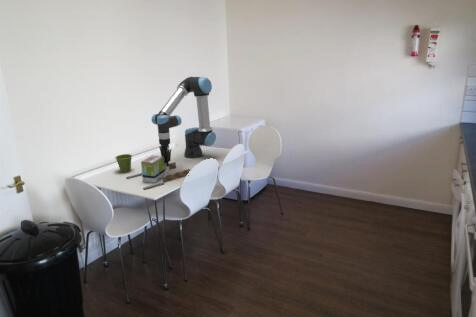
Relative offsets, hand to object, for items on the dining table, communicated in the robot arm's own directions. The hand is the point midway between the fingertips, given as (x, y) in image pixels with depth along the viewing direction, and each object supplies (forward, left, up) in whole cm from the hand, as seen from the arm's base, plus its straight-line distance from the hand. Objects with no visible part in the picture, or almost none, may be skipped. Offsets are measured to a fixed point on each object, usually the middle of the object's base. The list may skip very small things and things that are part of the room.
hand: (167, 170), depth 248 cm
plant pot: (+18, -29, -4) cm, 35 cm away
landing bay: (+17, 0, -4) cm, 18 cm away
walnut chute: (-2, 0, -4) cm, 4 cm away
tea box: (+10, 0, -4) cm, 11 cm away
